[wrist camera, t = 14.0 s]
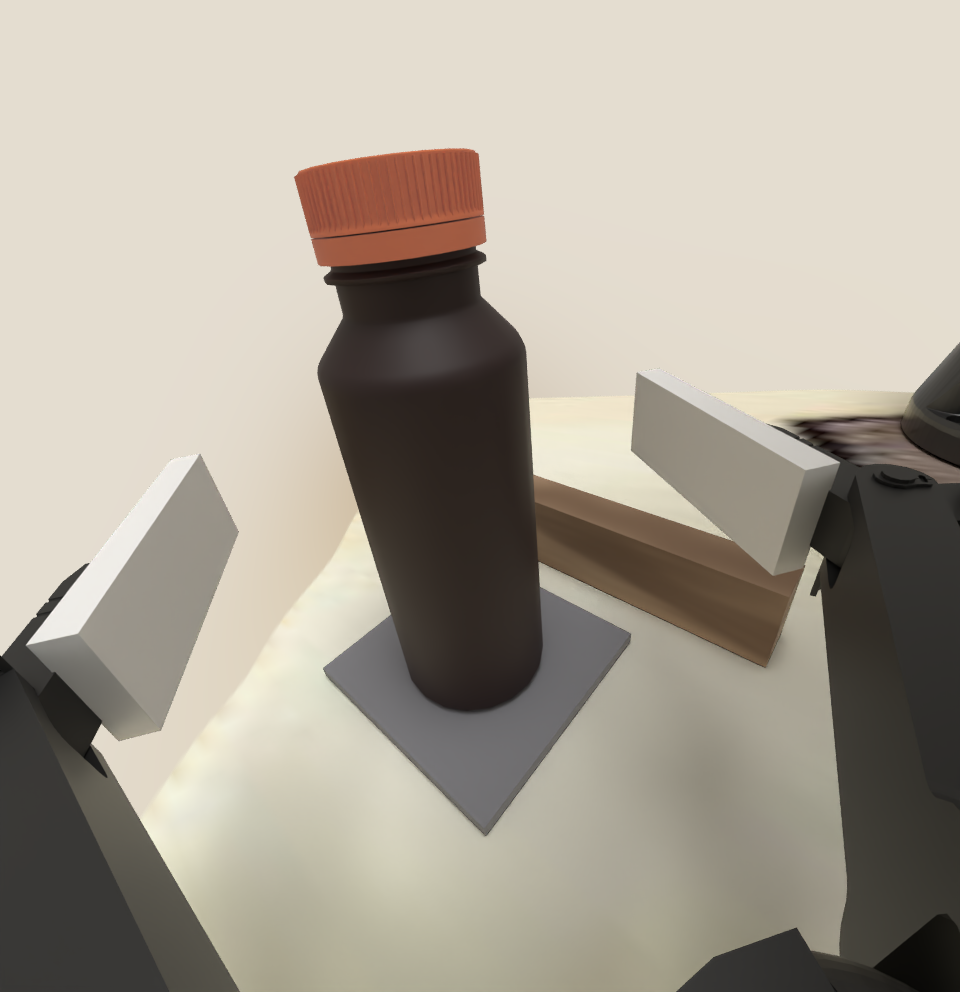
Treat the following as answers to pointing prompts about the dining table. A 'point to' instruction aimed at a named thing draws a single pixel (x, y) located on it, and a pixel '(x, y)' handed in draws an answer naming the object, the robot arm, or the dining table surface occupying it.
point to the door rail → (664, 569)
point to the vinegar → (431, 417)
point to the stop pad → (485, 732)
